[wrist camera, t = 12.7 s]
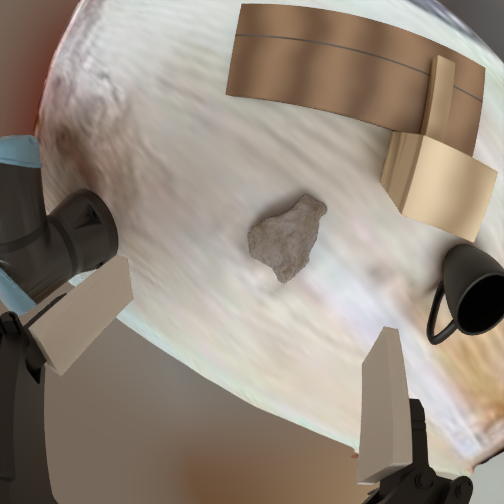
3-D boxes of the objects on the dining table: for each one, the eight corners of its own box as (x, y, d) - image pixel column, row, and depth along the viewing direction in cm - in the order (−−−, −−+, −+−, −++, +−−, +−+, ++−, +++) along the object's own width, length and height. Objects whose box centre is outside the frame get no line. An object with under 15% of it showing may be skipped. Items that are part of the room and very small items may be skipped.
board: (232, 96, 28) (225, 94, 26) (247, 9, 22) (241, 3, 20) (463, 160, 22) (470, 162, 21) (478, 70, 16) (485, 68, 15)
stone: (280, 175, 31) (268, 185, 26) (340, 210, 30) (340, 228, 26) (246, 239, 36) (230, 260, 31) (299, 271, 36) (291, 296, 31)
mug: (400, 281, 31) (413, 329, 23) (466, 220, 25) (501, 255, 17) (431, 315, 32) (444, 364, 24) (492, 263, 26) (521, 303, 17)
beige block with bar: (379, 181, 27) (401, 214, 17) (404, 55, 20) (437, 21, 10) (432, 200, 26) (473, 242, 16) (459, 79, 18) (512, 64, 8)
